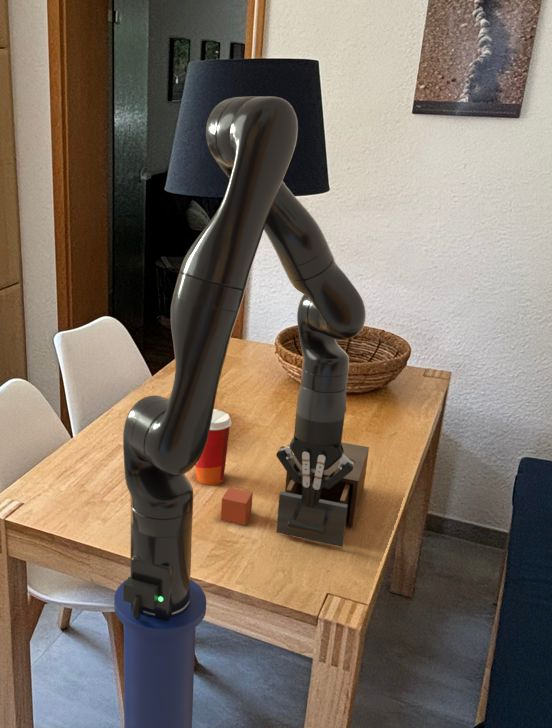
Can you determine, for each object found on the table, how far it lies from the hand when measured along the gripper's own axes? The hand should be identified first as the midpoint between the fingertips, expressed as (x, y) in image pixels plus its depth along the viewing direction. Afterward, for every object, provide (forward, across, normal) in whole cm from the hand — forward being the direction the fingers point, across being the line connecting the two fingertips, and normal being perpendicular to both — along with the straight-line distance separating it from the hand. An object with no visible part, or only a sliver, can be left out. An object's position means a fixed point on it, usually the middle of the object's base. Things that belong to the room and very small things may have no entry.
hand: (310, 505), depth 130 cm
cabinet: (+9, 0, +18) cm, 20 cm away
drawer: (+8, 0, +6) cm, 10 cm away
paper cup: (+9, -23, +18) cm, 30 cm away
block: (+9, -14, +6) cm, 17 cm away
